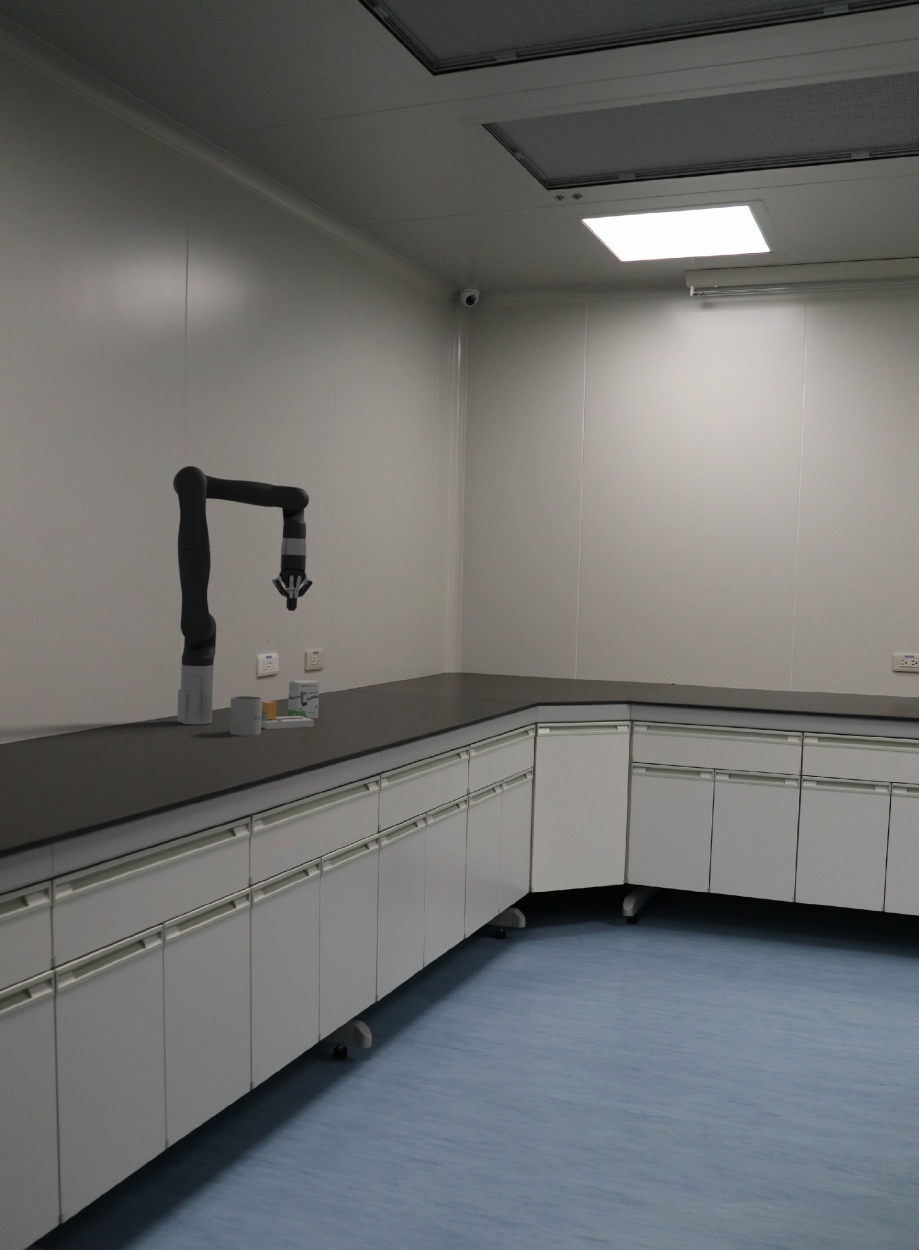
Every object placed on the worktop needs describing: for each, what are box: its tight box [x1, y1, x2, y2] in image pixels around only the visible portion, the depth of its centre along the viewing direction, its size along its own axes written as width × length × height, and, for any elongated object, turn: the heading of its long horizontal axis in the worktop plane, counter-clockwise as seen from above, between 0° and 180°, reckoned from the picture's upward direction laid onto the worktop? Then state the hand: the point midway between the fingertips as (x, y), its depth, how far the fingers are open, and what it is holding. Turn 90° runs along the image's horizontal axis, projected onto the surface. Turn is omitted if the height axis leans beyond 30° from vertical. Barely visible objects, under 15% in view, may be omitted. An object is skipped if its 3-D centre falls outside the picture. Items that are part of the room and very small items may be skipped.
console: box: [261, 713, 315, 730], centre depth 311 cm, size 15×10×4 cm, turn 124°
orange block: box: [262, 700, 278, 719], centre depth 308 cm, size 3×4×5 cm
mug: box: [229, 695, 263, 737], centre depth 295 cm, size 12×9×10 cm
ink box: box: [287, 679, 320, 720], centre depth 329 cm, size 9×5×12 cm, turn 135°
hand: (291, 610), depth 319 cm, fingers closed
